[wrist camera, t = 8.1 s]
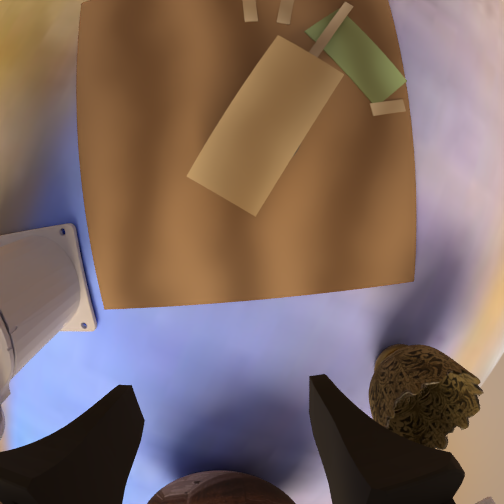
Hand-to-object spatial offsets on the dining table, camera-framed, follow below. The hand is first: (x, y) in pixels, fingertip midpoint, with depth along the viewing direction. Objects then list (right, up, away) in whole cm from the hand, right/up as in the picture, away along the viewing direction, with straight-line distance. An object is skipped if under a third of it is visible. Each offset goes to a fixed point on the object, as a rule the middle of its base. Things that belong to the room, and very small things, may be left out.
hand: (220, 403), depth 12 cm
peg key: (+4, +16, +5) cm, 17 cm away
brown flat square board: (+1, +14, +7) cm, 16 cm away
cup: (+12, -2, +11) cm, 17 cm away
